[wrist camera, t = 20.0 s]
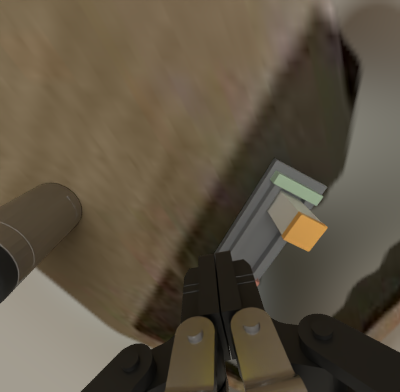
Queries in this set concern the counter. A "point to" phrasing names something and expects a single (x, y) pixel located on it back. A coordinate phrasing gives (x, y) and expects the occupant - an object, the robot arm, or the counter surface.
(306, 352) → the robot arm
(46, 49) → the counter surface
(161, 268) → the counter surface
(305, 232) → the orange-capped white pillar
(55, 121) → the counter surface
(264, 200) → the grey rail base
